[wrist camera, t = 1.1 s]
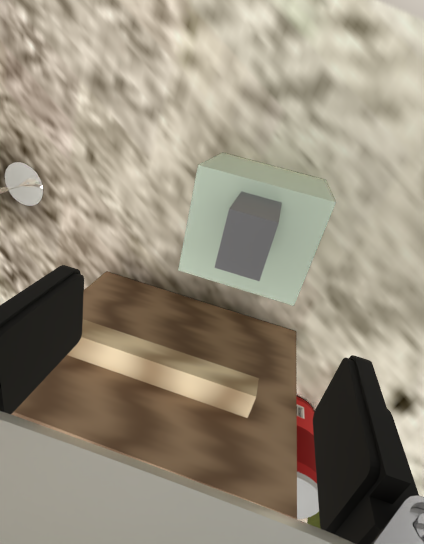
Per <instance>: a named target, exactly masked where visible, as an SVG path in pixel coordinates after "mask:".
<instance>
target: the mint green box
mask: <svg viewBox="0 0 424 544" xmlns="http://www.w3.org/2000/svg"><path fill="white" fill-rule="evenodd" d="M335 204H336V201H335V199H334V197H333V195H332V193H331V191H330V189H329V186H328V184H327V182H326V180H324V179H321V178H317V177H313V176H309V175H306V174H302V173H298V172H294V171H290V170H287V169H283V168H279V167H275V166H272V165H268V164H264V163H260V162H256V161H253V160H249V159H245V158H241V157H238V156H234V155H230V154H226V153H221V154H219V155H217V156H215V157H213V158H211V159H209V160H207V161H205V162H203V163H201V164H199V165H198V169H197V174H196V179H195V184H194V190H193V195H192V200H191V206H190V211H189V216H188V221H187V227H186V232H185V237H184V242H183V248H182V253H181V258H180V264H179V269H178V270H179V271H182V272H185V273H188V274H192V275H195V276H198V277H201V278H205V279H208V280H211V281H214V282H218V283H221V284H224V285H227V286H231V287H234V288H237V289H240V290H244V291H247V292H250V293H253V294H256V295H260V296H263V297H266V298H269V299H273V300H276V301H279V302H282V303H286V304H289V305H292V306H294V304H295V302H296V299H297V297H298V295H299V292H300V290H301V287H302V285H303V282H304V280H305V277H306V275H307V272H308V270H309V268H310V265H311V263H312V260H313V258H314V255H315V253H316V250H317V248H318V245H319V243H320V240H321V238H322V236H323V233H324V231H325V228H326V226H327V223H328V221H329V218H330V216H331V213H332V211H333V208H334V206H335Z"/></svg>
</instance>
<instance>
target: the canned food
mask: <svg viewBox="0 0 424 544" xmlns="http://www.w3.org/2000/svg"><path fill="white" fill-rule="evenodd" d="M296 406H297V519H304V518H308V517H311V516H313V515H315V514H316V513H318V512H319V503H318V489H317V475H316V461H315V446H314V432H313V416H314V410H313V408H312V407H311V405H310V404H309V403H308V402H307V401H305V400H303V399H302V398H300V397H298V396H296Z"/></svg>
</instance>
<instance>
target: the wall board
mask: <svg viewBox="0 0 424 544" xmlns="http://www.w3.org/2000/svg"><path fill="white" fill-rule="evenodd" d="M11 415H14V416H17V417H19V418H22V419H25V420H28V421H31V422H33V423H36V424H39V425H42V426H45V427H47V428H50V429H53V430H56V431H58V432H61V433H64V434H67V435H70V436H72V437H75V438H78V439H81V440H84V441H86V442H89V443H92V444H95V445H97V446H100V447H103V448H106V449H108V450H111V451H114V452H117V453H119V454H122V455H125V456H128V457H130V458H133V459H136V460H139V461H141V462H144V463H147V464H150V465H152V466H155V467H158V468H160V469H163V470H166V471H169V472H171V473H174V474H177V475H180V476H182V477H185V478H188V479H190V480H193V481H196V482H198V483H201V484H204V485H207V486H209V487H212V488H215V489H217V490H220V491H223V492H225V493H228V494H231V495H233V496H236V497H239V498H242V499H244V500H247V501H250V502H252V503H255V504H258V505H260V506H263V507H266V508H268V509H271V510H274V511H276V512H279V513H281V514H284V515H287V516H289V517H292V518H294V519H297V406H296V331H293V330H290V329H287V328H284V327H281V326H277V325H274V324H271V323H268V322H265V321H262V320H258V319H255V318H252V317H249V316H246V315H243V314H239V313H236V312H233V311H230V310H227V309H224V308H220V307H217V306H214V305H211V304H208V303H205V302H202V301H198V300H195V299H192V298H189V297H186V296H183V295H179V294H176V293H173V292H170V291H167V290H164V289H160V288H157V287H154V286H151V285H148V284H145V283H141V282H138V281H135V280H132V279H129V278H126V277H122V276H119V275H116V274H113V273H110V272H105V273H104V274H103V275H102V276H101V277H99V278H98V279H97V280H96V281H95V282H93V283H92V284H91V285H90V286H89V287H87V288H86V289H85V290H84V292H83V323H82V336H81V339H80V341H79V342H78V344H77V345H76V346H75V347H74V348H73V349H72V350H71V351H70V352H69V353H68V354H67V355H66V356H65V358H64V359H63V360H62V361H61V362H60V363H59V364H58V365H57V366H56V367H55V368H54V369H53V370H52V371H51V373H50V374H49V375H48V376H47V377H46V378H45V379H44V380H43V381H42V382H41V383H40V384H39V385H38V386H37V387H36V389H35V390H34V391H33V392H32V393H31V394H30V395H29V396H28V397H27V398H26V399H25V400H24V401H23V402H22V404H21V405H20V406H19V407H18V408H17V409H16V410H15V411H14V412H13V413H12V414H11Z"/></svg>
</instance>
